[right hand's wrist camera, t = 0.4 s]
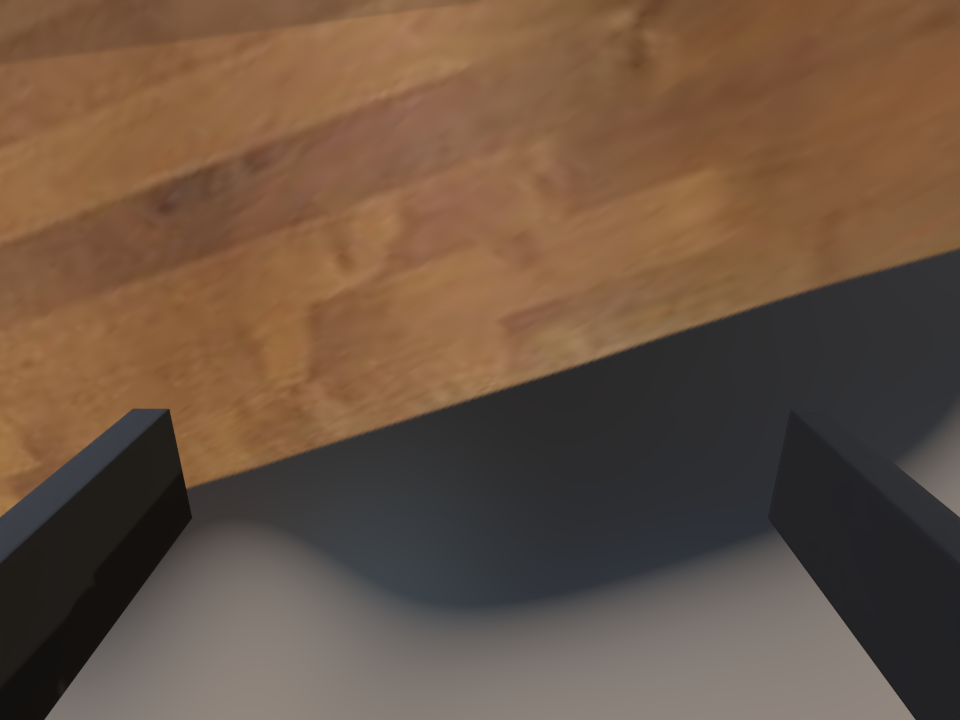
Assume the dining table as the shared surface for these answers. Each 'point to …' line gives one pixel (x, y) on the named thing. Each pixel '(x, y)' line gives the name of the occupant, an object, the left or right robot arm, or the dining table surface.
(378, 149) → the dining table surface
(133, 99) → the dining table surface
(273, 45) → the dining table surface
